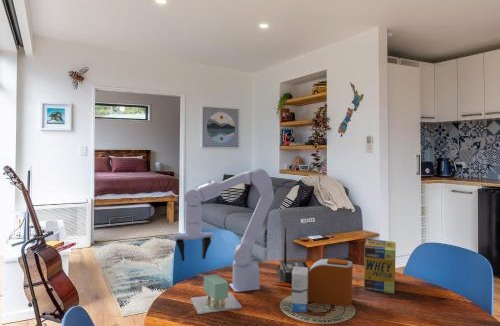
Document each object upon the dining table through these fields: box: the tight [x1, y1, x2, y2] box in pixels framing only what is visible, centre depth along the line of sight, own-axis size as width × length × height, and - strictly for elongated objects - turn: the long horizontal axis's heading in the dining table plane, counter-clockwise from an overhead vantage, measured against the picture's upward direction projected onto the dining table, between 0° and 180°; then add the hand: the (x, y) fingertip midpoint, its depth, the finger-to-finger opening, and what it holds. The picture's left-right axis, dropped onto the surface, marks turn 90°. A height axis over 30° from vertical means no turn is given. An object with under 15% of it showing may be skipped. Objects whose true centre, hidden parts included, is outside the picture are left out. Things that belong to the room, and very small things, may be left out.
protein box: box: [363, 238, 396, 294], centre depth 139 cm, size 10×15×16 cm
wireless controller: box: [276, 227, 310, 283], centre depth 151 cm, size 20×14×17 cm
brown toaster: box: [308, 258, 353, 308], centre depth 124 cm, size 15×8×14 cm, turn 71°
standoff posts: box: [206, 294, 225, 307], centre depth 120 cm, size 4×8×2 cm, turn 20°
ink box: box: [291, 266, 309, 313], centre depth 118 cm, size 8×5×12 cm, turn 168°
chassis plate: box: [190, 292, 243, 315], centre depth 120 cm, size 14×12×1 cm
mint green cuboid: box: [203, 274, 229, 300], centre depth 120 cm, size 5×9×5 cm, turn 30°
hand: (193, 259), depth 135 cm, fingers open, 7 cm apart
